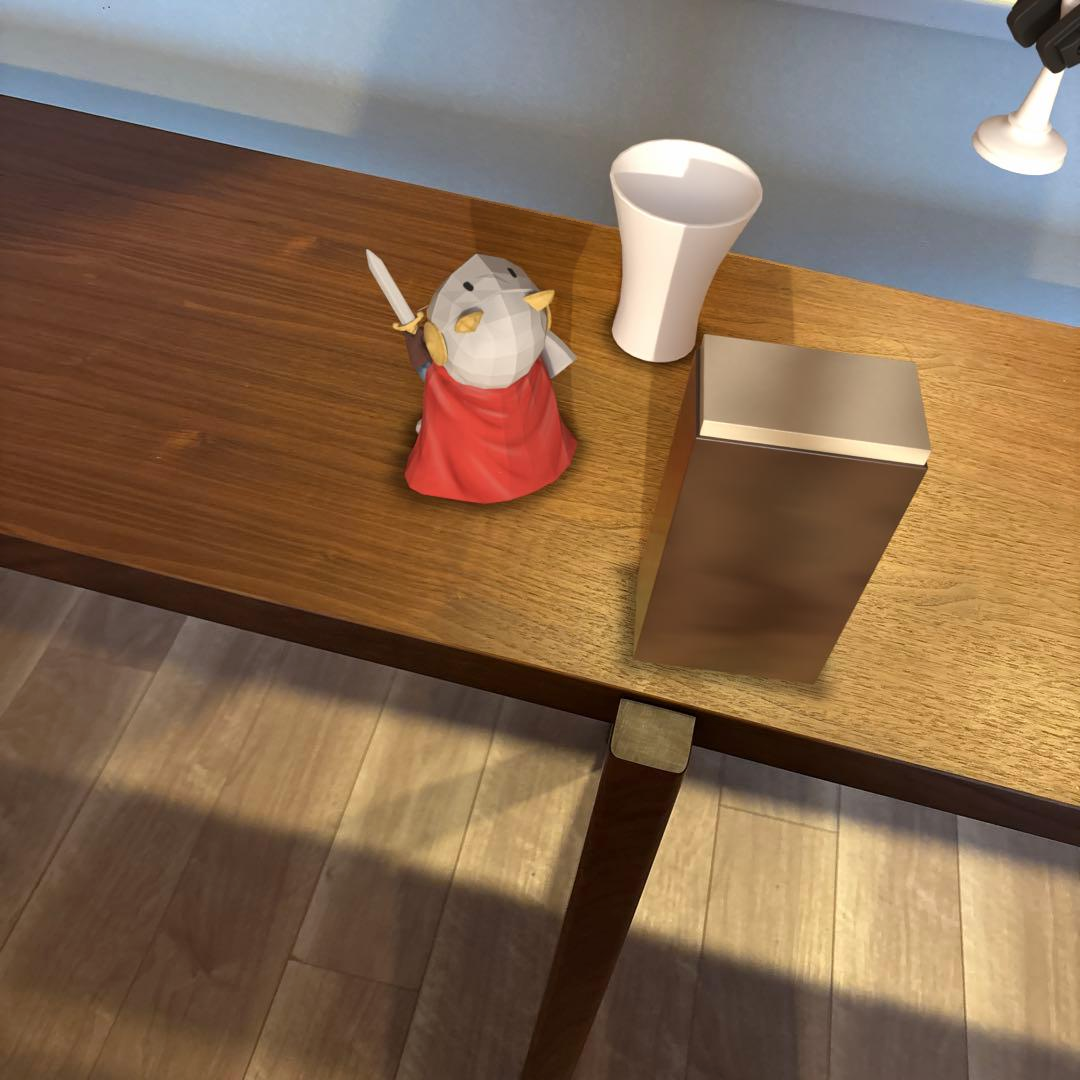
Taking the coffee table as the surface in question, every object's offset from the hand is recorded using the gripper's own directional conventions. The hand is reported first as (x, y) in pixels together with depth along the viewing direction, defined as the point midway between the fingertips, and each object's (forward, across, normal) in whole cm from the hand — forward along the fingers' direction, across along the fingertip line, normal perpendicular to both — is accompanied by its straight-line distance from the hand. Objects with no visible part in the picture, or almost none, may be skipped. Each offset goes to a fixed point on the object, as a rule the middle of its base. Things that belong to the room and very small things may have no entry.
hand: (1030, 46), depth 55 cm
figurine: (+39, -8, +4) cm, 40 cm away
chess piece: (+3, 0, +6) cm, 6 cm away
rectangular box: (+32, +11, +11) cm, 35 cm away
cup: (+28, -16, +15) cm, 35 cm away
